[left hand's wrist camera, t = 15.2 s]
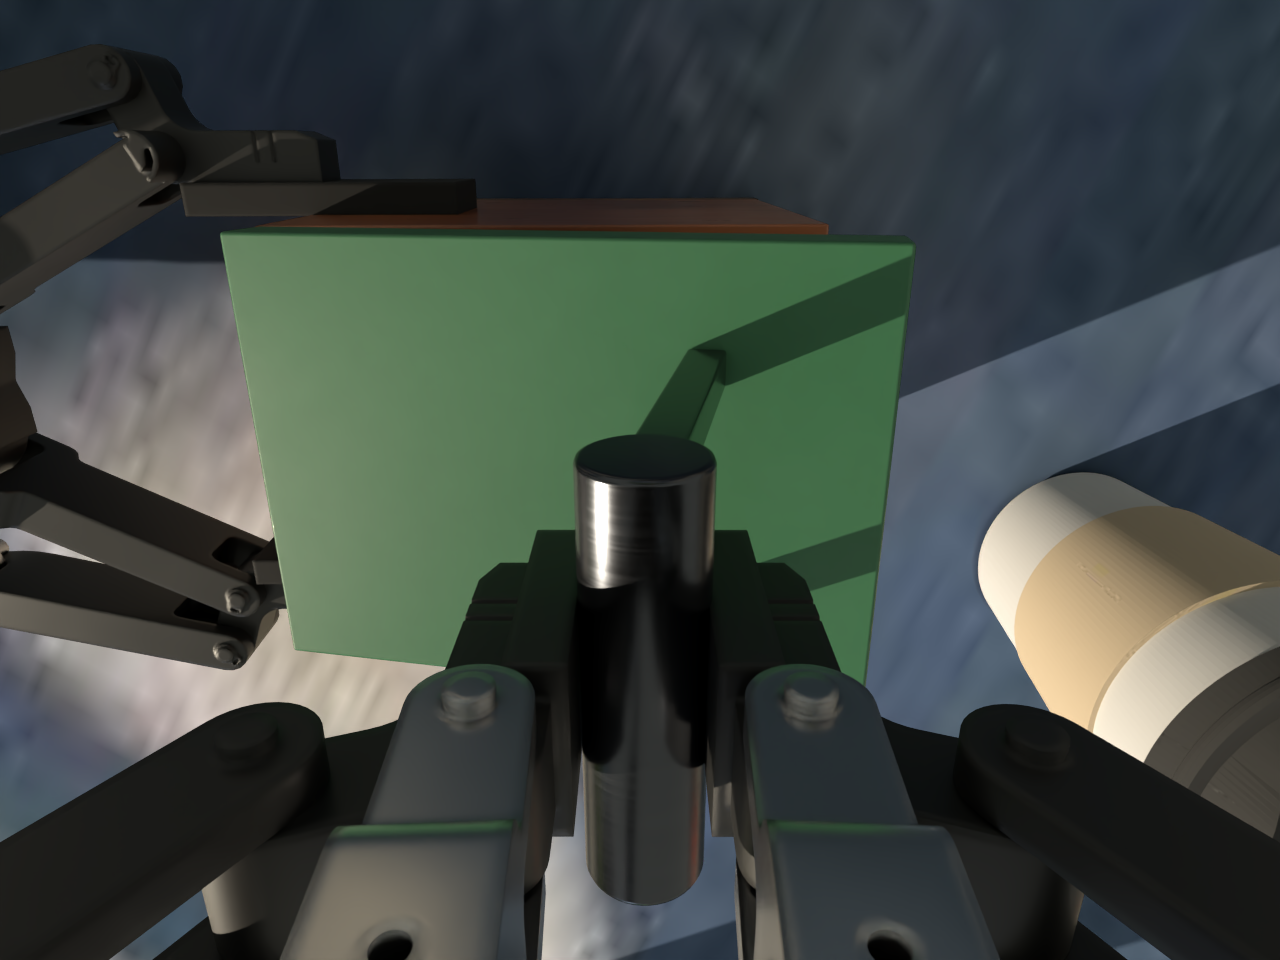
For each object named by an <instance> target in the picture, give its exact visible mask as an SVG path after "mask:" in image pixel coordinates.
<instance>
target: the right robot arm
mask: <svg viewBox="0 0 1280 960" xmlns="http://www.w3.org/2000/svg"><path fill="white" fill-rule="evenodd" d="M182 88H183V84H182V80H181V76H180V74H179V72H178V71H177V69H176V67H175V66H174V65H173V64H172V63H170V62H169V61H168V60H167V59H164V58H162V57H159V56H156V55H151V54H146V53H141V52H136V51H131V50H127V49H122V48H117V47H112V46H107V45H102V44H95V45H88V46H84V47H81V48H78V49H74V50H71V51H67V52H64V53H60V54H57V55H54V56H50V57H47V58H43V59H40V60H37V61H33V62H30V63H26V64H23V65H19V66H16V67H13V68H9V69H6V70H2V71H0V155H2V154H5V153H9V152H12V151H16V150H19V149H23V148H26V147H30V146H34V145H37V144H41V143H44V142H48V141H51V140H55V139H58V138H62V137H65V136H69V135H72V134H76V133H79V132H83V131H86V130H90V129H93V128H97V127H100V126H104V125H108V124H111V123H115V125H116V127H117V129H118V130H119V131H117V132H114V134H115V136H116V137H122V138H123V139H122V140H121V141H119V142H118V143H116V144H114V145H113V146H111V147H110V148H108V149H107V150H105V151H103V152H102V153H100V154H99V155H97V156H96V157H94V158H93V159H91V160H89V161H88V162H86V163H85V164H83V165H82V166H80V167H78V168H77V169H75V170H74V171H72V172H71V173H69V174H67V175H66V176H64V177H63V178H61V179H60V180H58V181H56V182H55V183H53V184H52V185H50V186H49V187H47V188H46V189H44V190H42V191H41V192H39V193H38V194H36V195H35V196H33V197H31V198H30V199H28V200H27V201H25V202H24V203H22V204H20V205H19V206H17V207H16V208H14V209H13V210H11V211H9V212H8V213H6V214H5V215H3V216H2V217H0V314H1V313H3V312H4V311H6V310H8V309H9V308H11V307H13V306H14V305H16V304H18V303H19V302H21V301H22V300H24V299H26V298H27V297H29V296H30V295H32V294H33V293H34V292H35V290H34V289H35V288H36V287H38V286H39V285H41V284H43V283H44V282H46V281H48V280H49V279H51V278H52V277H54V276H56V275H57V274H59V273H61V272H62V271H64V270H65V269H67V268H69V267H70V266H72V265H74V264H75V263H77V262H78V261H80V260H82V259H83V258H85V257H87V256H88V255H90V254H91V253H93V252H95V251H96V250H98V249H100V248H101V247H103V246H104V245H106V244H108V243H109V242H111V241H113V240H114V239H116V238H117V237H119V236H121V235H122V234H124V233H126V232H127V231H129V230H130V229H132V228H134V227H135V226H137V225H139V224H140V223H142V222H143V221H145V220H147V219H148V218H150V217H152V216H153V215H155V214H156V213H158V212H160V211H161V210H163V209H165V208H166V207H168V206H169V205H171V204H173V203H174V202H176V201H178V200H179V199H181V198H182V200H183V205H184V210H185V215H186V216H310V215H458V214H461V213H464V212H467V211H470V210H472V209H475V208H477V199H476V185H475V179H340V171H339V163H338V155H337V148H336V140H334V139H331V138H329V137H326V136H324V135H321V134H319V133H317V132H310V131H296V130H255V131H251V130H246V131H214V130H211V129H209V128H207V127H205V126H204V125H202V124H201V123H199V122H198V121H197V120H196V118H195V117H194V116H193V115H192V113H191V112H190V110H189V108H188V106H187V104H186V103H185V101H184V99H183V97H182ZM36 432H37V428H36V425H35V421H34V418H33V414H32V411H31V407H30V405H29V403H28V402H27V400H26V398H25V396H24V394H23V393H22V391H21V389H20V387H19V386H18V384H17V382H16V378H15V350H14V346H13V343H12V339H11V336H10V332H9V329H8V326H0V529H1V528H17V529H21V530H23V531H26V532H28V533H30V534H33V535H35V536H38V537H40V538H43V539H45V540H48V541H50V542H53V543H55V544H58V545H60V546H63V547H65V548H67V549H70V550H72V551H75V552H77V553H80V554H82V555H85V556H87V557H90V558H92V559H95V560H97V561H100V562H102V563H104V564H102V563H97V562H92V561H87V560H82V559H77V558H72V557H67V556H62V555H57V554H52V553H45V552H38V551H9V546H8V545H7V543H6V542H5V541H3V540H2V539H0V627H2V628H8V629H13V630H18V631H23V632H29V633H34V634H39V635H44V636H50V637H55V638H60V639H66V640H71V641H76V642H81V643H87V644H92V645H97V646H102V647H108V648H113V649H118V650H123V651H129V652H134V653H139V654H144V655H150V656H155V657H160V658H166V659H171V660H176V661H181V662H187V663H192V664H197V665H202V666H208V667H213V668H218V669H223V670H235V669H238V668H241V667H242V666H243V665H244V664H245V663H246V662H247V660H248V659H249V658H250V656H251V655H252V654H253V652H254V651H255V650H256V648H257V647H258V646H259V644H260V643H261V642H262V640H263V639H264V638H265V636H266V635H267V634H268V632H269V631H270V630H271V628H272V627H273V626H274V624H275V623H276V622H277V620H278V617H279V610H278V609H287V606H286V600H285V594H284V589H283V583H282V578H281V572H280V567H279V561H278V555H277V550H276V544H275V539H274V537H273V538H272V540H271V541H270V542H269V541H266V540H264V539H262V538H259V537H257V536H255V535H252V534H250V533H248V532H245V531H243V530H240V529H238V528H236V527H233V526H231V525H229V524H226V523H224V522H222V521H219V520H217V519H215V518H212V517H210V516H208V515H205V514H203V513H200V512H198V511H196V510H193V509H191V508H189V507H186V506H184V505H182V504H179V503H177V502H175V501H172V500H170V499H168V498H165V497H163V496H160V495H158V494H156V493H153V492H151V491H149V490H146V489H144V488H142V487H139V486H137V485H135V484H132V483H130V482H128V481H125V480H123V479H120V478H118V477H116V476H113V475H111V474H109V473H106V472H104V471H102V470H99V469H97V468H95V467H92V466H90V465H88V464H85V463H83V462H81V461H80V460H79V457H78V453H77V452H76V450H74V449H72V448H71V447H69V446H66V445H64V444H62V443H59V442H57V441H55V440H52V439H50V438H48V437H45V436H43V435H41V434H38V433H36Z"/></svg>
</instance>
